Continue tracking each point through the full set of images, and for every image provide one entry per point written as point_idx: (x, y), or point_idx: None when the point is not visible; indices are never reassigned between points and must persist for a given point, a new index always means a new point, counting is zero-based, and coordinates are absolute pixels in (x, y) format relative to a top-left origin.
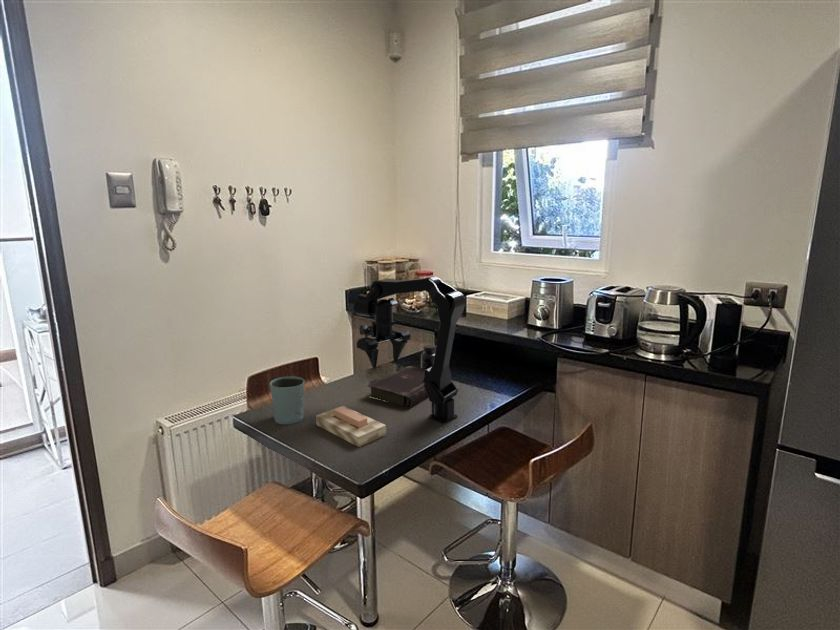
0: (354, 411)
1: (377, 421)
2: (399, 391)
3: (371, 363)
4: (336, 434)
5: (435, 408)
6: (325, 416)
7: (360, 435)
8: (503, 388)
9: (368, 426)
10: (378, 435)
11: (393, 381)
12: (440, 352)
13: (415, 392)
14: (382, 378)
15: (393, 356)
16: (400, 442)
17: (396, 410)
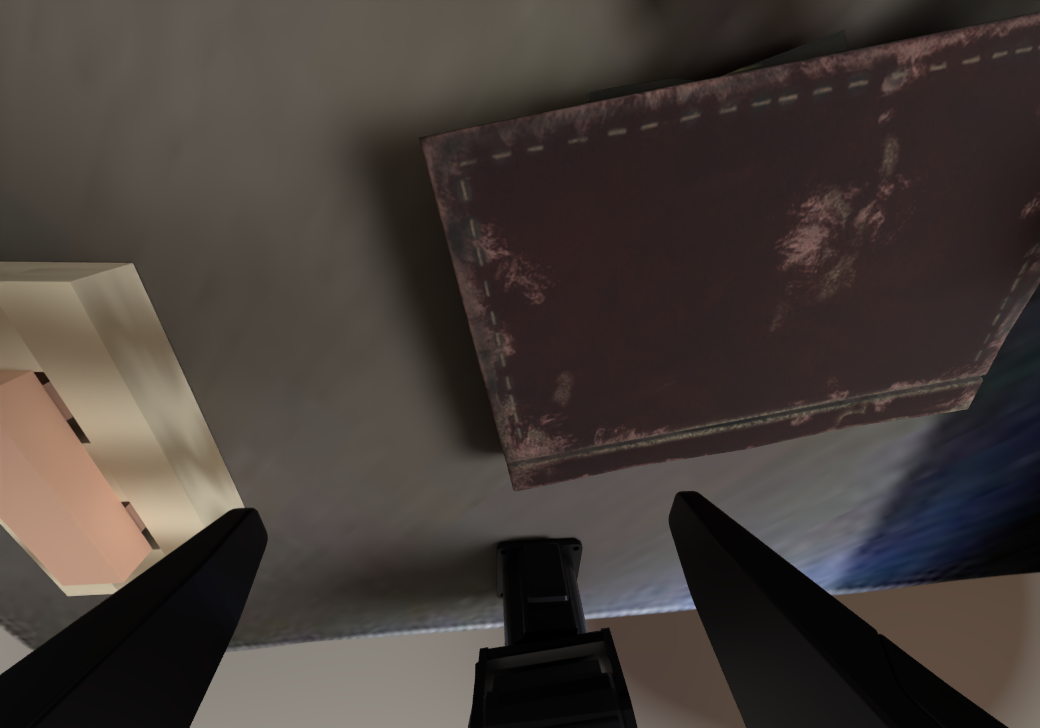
0: (132, 409)
1: None
2: (538, 411)
3: (149, 583)
4: None
5: (505, 609)
6: None
7: (81, 592)
8: (911, 542)
9: (151, 560)
10: None
11: (670, 243)
12: None
13: (594, 470)
14: (673, 98)
15: (717, 554)
16: (281, 595)
17: (447, 424)
